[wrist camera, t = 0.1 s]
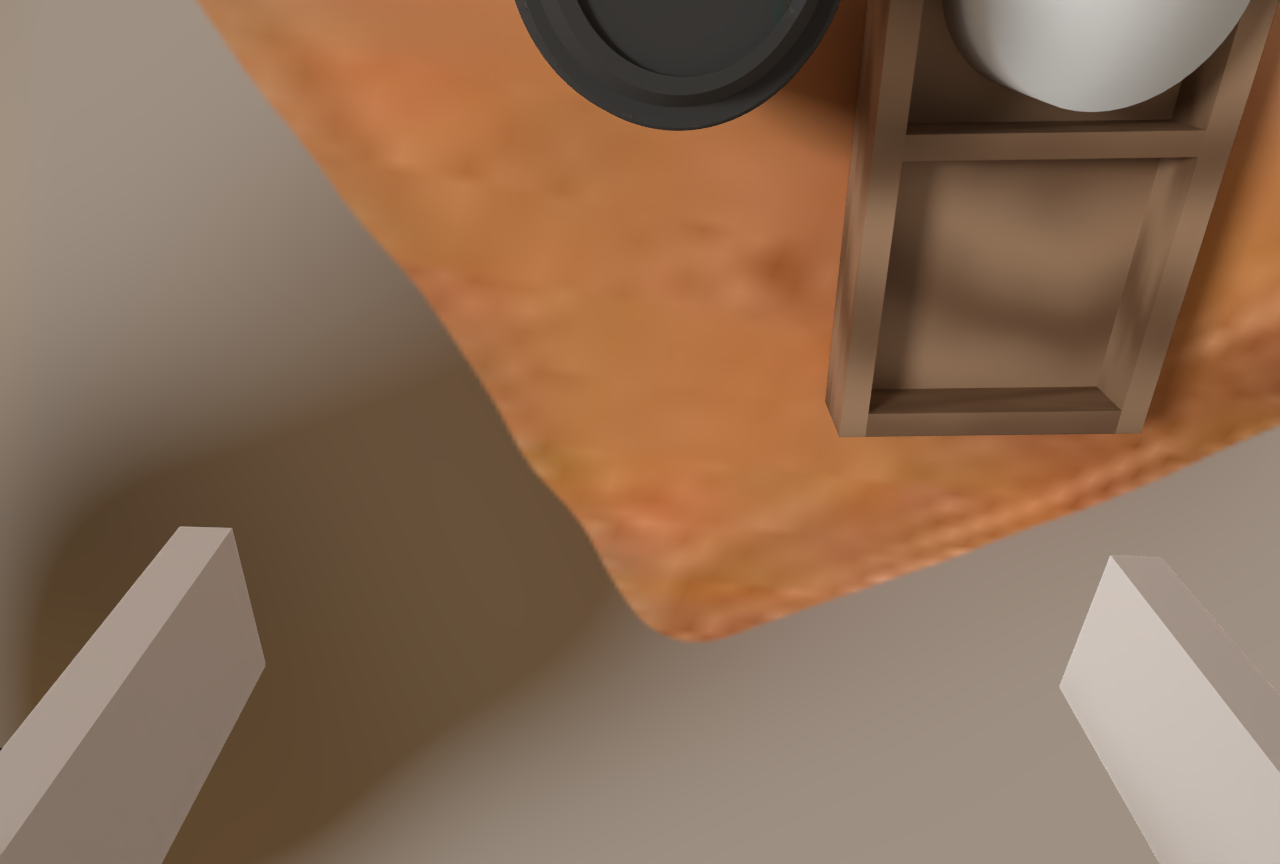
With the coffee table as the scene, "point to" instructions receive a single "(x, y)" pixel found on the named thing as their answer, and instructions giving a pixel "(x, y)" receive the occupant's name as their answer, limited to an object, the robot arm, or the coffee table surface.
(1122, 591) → the robot arm
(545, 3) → the coffee cup
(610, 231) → the coffee table surface
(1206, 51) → the white ceramic dome
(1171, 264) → the box
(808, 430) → the coffee table surface
